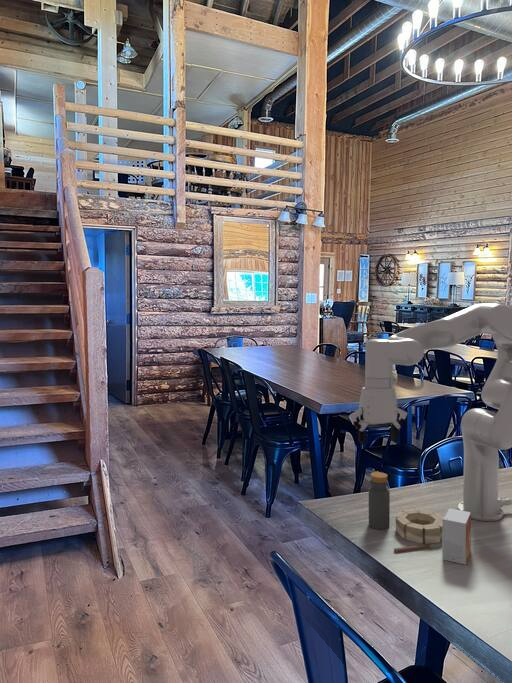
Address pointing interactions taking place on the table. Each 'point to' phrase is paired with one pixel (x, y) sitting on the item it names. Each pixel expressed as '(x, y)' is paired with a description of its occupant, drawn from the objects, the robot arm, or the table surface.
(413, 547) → the brown wooden stick
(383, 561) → the table surface
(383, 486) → the bottle
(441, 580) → the table surface
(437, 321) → the robot arm
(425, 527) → the segmented wooden ring
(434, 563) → the table surface
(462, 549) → the small box
